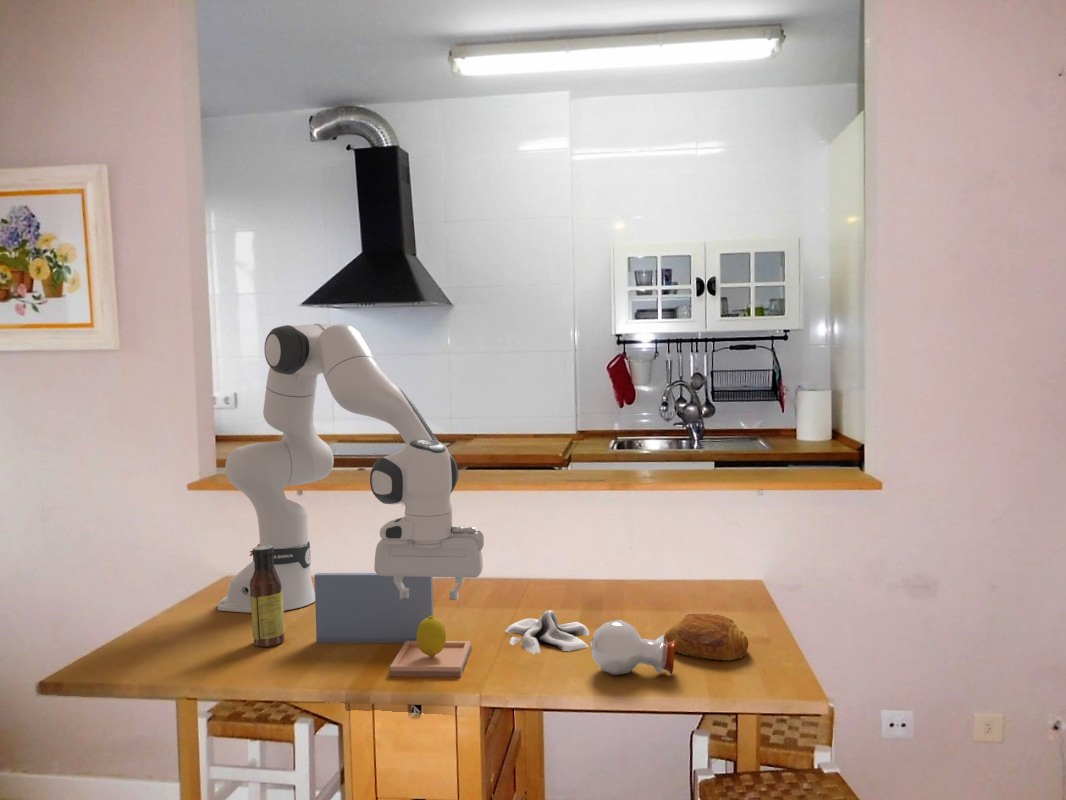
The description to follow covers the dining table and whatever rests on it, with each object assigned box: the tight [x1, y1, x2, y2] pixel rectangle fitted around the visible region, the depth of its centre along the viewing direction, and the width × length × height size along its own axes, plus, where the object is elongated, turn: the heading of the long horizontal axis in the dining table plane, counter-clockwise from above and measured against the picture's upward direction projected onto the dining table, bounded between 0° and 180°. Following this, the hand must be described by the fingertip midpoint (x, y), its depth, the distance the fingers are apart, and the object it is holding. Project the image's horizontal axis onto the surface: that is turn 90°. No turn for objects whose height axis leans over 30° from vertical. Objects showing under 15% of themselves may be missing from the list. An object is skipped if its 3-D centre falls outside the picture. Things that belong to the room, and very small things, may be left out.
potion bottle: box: [590, 619, 676, 676], centre depth 138 cm, size 9×10×15 cm
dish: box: [389, 640, 472, 678], centre depth 145 cm, size 13×13×2 cm
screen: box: [314, 572, 434, 644], centre depth 158 cm, size 24×5×14 cm, turn 86°
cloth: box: [504, 609, 591, 655], centre depth 156 cm, size 22×19×6 cm
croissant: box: [664, 613, 749, 661], centre depth 149 cm, size 14×16×8 cm
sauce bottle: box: [250, 545, 286, 648], centre depth 156 cm, size 7×6×20 cm
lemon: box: [417, 615, 447, 658], centre depth 144 cm, size 6×6×8 cm
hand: (429, 598), depth 144 cm, fingers open, 8 cm apart
